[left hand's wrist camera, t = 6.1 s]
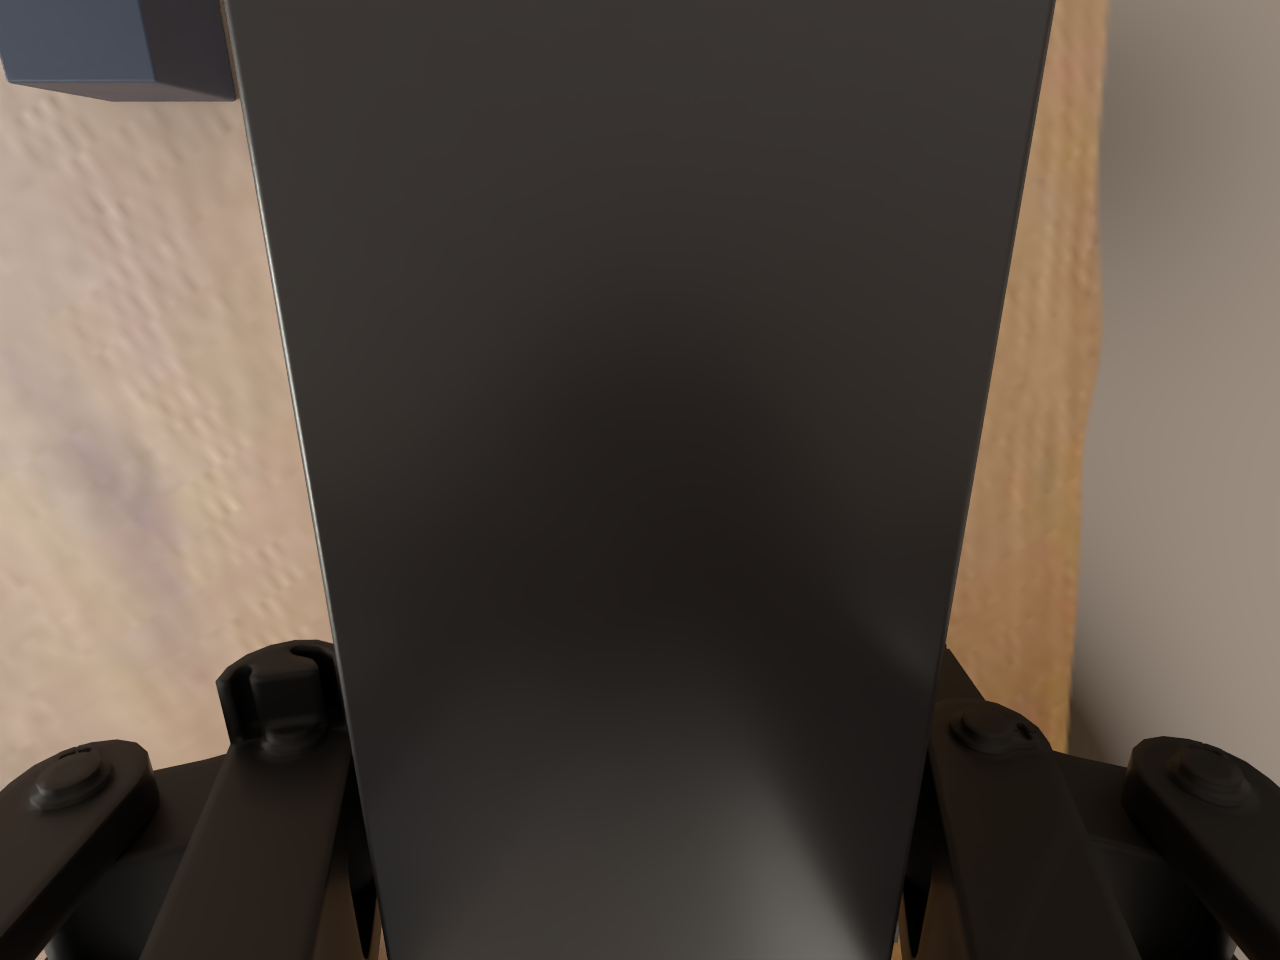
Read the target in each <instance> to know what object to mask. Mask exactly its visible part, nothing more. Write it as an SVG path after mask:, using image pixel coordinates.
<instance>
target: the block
mask: <svg viewBox="0 0 1280 960" xmlns="http://www.w3.org/2000/svg"><path fill="white" fill-rule="evenodd" d="M223 1H224V7H225V13H226V19H227V25H228V30H229V36H230V42H231V48H232V54H233V60H234V65H235V71H236V77H237V83H238V89H239V95H240V100H241V106H242V112H243V118H244V124H245V130H246V135H247V141H248V147H249V153H250V159H251V165H252V170H253V176H254V182H255V188H256V194H257V200H258V205H259V211H260V217H261V223H262V229H263V235H264V240H265V246H266V252H267V258H268V264H269V270H270V275H271V281H272V287H273V293H274V299H275V305H276V310H277V316H278V322H279V328H280V334H281V340H282V346H283V351H284V357H285V363H286V369H287V375H288V381H289V386H290V392H291V398H292V404H293V410H294V416H295V421H296V427H297V433H298V439H299V445H300V451H301V456H302V462H303V468H304V474H305V480H306V486H307V491H308V497H309V503H310V509H311V515H312V521H313V526H314V532H315V538H316V544H317V550H318V556H319V561H320V567H321V573H322V579H323V585H324V591H325V596H326V602H327V608H328V614H329V620H330V626H331V631H332V637H333V643H334V649H335V655H336V661H337V666H338V672H339V678H340V684H341V690H342V696H343V702H344V707H345V713H346V719H347V725H348V731H349V737H350V742H351V748H352V754H353V760H354V766H355V772H356V777H357V783H358V789H359V795H360V801H361V807H362V812H363V818H364V824H365V830H366V836H367V842H368V847H369V853H370V859H371V865H372V871H373V877H374V882H375V888H376V894H377V900H378V906H379V912H380V917H381V923H382V929H383V935H384V941H385V947H386V952H387V958H388V960H891V957H892V951H893V945H894V939H895V933H896V927H897V922H898V916H899V910H900V904H901V898H902V893H903V887H904V881H905V875H906V869H907V863H908V858H909V852H910V846H911V840H912V834H913V829H914V823H915V817H916V811H917V805H918V799H919V794H920V788H921V782H922V776H923V770H924V765H925V759H926V753H927V747H928V741H929V735H930V730H931V724H932V718H933V712H934V706H935V701H936V695H937V689H938V683H939V677H940V671H941V666H942V660H943V654H944V648H945V642H946V637H947V631H948V625H949V619H950V613H951V607H952V602H953V596H954V590H955V584H956V578H957V573H958V567H959V561H960V555H961V549H962V543H963V538H964V532H965V526H966V520H967V514H968V509H969V503H970V497H971V491H972V485H973V479H974V474H975V468H976V462H977V456H978V450H979V445H980V439H981V433H982V427H983V421H984V415H985V410H986V404H987V398H988V392H989V386H990V380H991V375H992V369H993V363H994V357H995V351H996V346H997V340H998V334H999V328H1000V322H1001V316H1002V311H1003V305H1004V299H1005V293H1006V287H1007V282H1008V276H1009V270H1010V264H1011V258H1012V252H1013V247H1014V241H1015V235H1016V229H1017V223H1018V218H1019V212H1020V206H1021V200H1022V194H1023V188H1024V183H1025V177H1026V171H1027V165H1028V159H1029V154H1030V148H1031V142H1032V136H1033V130H1034V124H1035V119H1036V113H1037V107H1038V101H1039V95H1040V90H1041V84H1042V78H1043V72H1044V66H1045V60H1046V55H1047V49H1048V43H1049V37H1050V31H1051V26H1052V20H1053V14H1054V8H1055V2H1056V0H223Z"/></svg>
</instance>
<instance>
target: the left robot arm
mask: <svg viewBox="0 0 1280 960" xmlns="http://www.w3.org/2000/svg"><path fill="white" fill-rule="evenodd" d="M216 686H217V690H218V694H219V698H220V702H221V706H222V710H223V714H224V718H225V722H226V727H227V731H228V735H229V739H230V743H231V744H230V747H229V749H228V751H227V754H224V755H220V756H217V757H213V758H210V759H206V760H201V761H196V762H192V763H187V764H183V765H178V766H173V767H169V768H164V769H159V770H155V771H153V769H152V766H151V762H150V759H149V756H148V752H147V751H146V750H145V749H143V748H142V747H141V746H140V745H139V744H138V743H136V742H130V741H124V740H118V739H116V740H108V741H99V742H91V743H88V744H84V745H79V746H78V747H73V748H70V749H67V750H64V751H62V752H60V753H58V754H56V755H54V756H52V757H50V758H48V759H46V760H44V761H42V762H40V763H38V764H36V765H34V766H33V767H31V768H30V769H28V770H27V771H26V772H24V773H23V774H22V775H20V776H19V777H17V778H16V779H15V780H13V781H12V782H11V783H9V784H8V785H7V786H6V787H5V788H4V789H3V790H2V791H1V792H0V960H35V959H36V958H37V956H38V955H39V954H40V953H41V951H42V950H43V949H44V950H45V953H46V955H47V957H46V959H45V960H378V954H379V945H380V936H381V926H382V923H381V917H380V912H379V906H378V900H377V894H376V888H375V882H374V877H373V871H372V865H371V859H370V853H369V847H368V842H367V836H366V830H365V824H364V818H363V812H362V807H361V801H360V795H359V789H358V783H357V777H356V772H355V766H354V760H353V754H352V748H351V742H350V737H349V731H348V725H347V719H346V713H345V707H344V702H343V696H342V690H341V684H340V678H339V672H338V666H337V661H336V655H335V649H334V644H332V643H328V642H324V641H320V640H293V641H288V642H283V643H279V644H274V645H270V646H267V647H265V648H262V649H260V650H257V651H255V652H252V653H250V654H247V655H245V656H244V657H242V658H241V659H239V660H238V661H236V662H235V663H233V664H232V665H230V666H229V667H227V668H226V670H225V671H224V672H223V673H222V674H221V675H220V677H219V678H218V679H217V680H216ZM899 934H900V943H901V953H902V960H1238V959H1237V958H1236V956H1235V955H1234V951H1235V949H1236V946H1237V945H1238V947H1239V948H1240V949H1241V950H1242V952H1243V953H1244V954H1245V955H1246V956H1247V958H1248V959H1249V960H1280V787H1278V786H1277V785H1276V784H1275V783H1274V782H1273V781H1272V780H1270V779H1269V778H1268V777H1267V776H1265V775H1264V774H1262V773H1261V772H1260V771H1258V770H1257V769H1255V768H1254V767H1253V766H1251V765H1250V764H1249V763H1247V762H1246V761H1244V760H1241V759H1239V758H1237V757H1235V756H1233V755H1231V754H1229V753H1227V752H1225V751H1223V750H1222V749H1220V748H1217V747H1214V746H1211V745H1209V744H1203V743H1202V742H1198V741H1194V740H1190V739H1184V738H1175V737H1166V736H1161V737H1155V738H1149V739H1144V740H1143V741H1141V742H1140V743H1139V744H1138V745H1137V746H1135V747H1134V748H1133V750H1132V753H1131V757H1130V760H1129V764H1128V767H1127V768H1126V767H1121V766H1117V765H1112V764H1107V763H1103V762H1098V761H1093V760H1089V759H1084V758H1079V757H1075V756H1071V755H1067V754H1064V753H1060V752H1056V751H1053V750H1052V748H1051V746H1050V743H1049V742H1048V740H1047V739H1046V738H1045V736H1044V735H1043V733H1042V732H1041V731H1040V729H1039V728H1038V727H1037V726H1036V725H1034V724H1033V723H1032V722H1030V721H1029V720H1028V719H1026V718H1025V717H1024V716H1022V715H1021V714H1019V713H1017V712H1015V711H1013V710H1011V709H1009V708H1006V707H1004V706H1002V705H1000V704H998V703H993V702H989V701H985V699H984V698H983V697H982V695H981V694H980V692H979V691H978V689H977V688H976V687H975V685H974V684H973V682H972V681H971V679H970V678H969V677H968V675H967V674H966V672H965V671H964V669H963V668H962V666H961V665H960V664H959V662H958V661H957V659H956V658H955V656H954V655H953V654H952V652H951V651H950V649H947V648H946V644H945V648H944V654H943V660H942V666H941V671H940V677H939V683H938V689H937V695H936V701H935V706H934V712H933V718H932V724H931V730H930V735H929V741H928V747H927V753H926V759H925V765H924V770H923V776H922V782H921V788H920V794H919V799H918V805H917V811H916V817H915V823H914V829H913V834H912V840H911V846H910V852H909V858H908V863H907V869H906V875H905V881H904V887H903V893H902V898H901V904H900V910H899V916H898V922H897V927H896V933H895V939H894V942H896V943H897V941H898V936H899Z"/></svg>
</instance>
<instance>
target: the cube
mask: <svg viewBox="0 0 1280 960" xmlns="http://www.w3.org/2000/svg"><path fill="white" fill-rule="evenodd" d="M0 57H1V61H2V65H3V68H4V72H5V75H6V79H7V81H8V82H10V83H13V84H18V85H24V86H29V87H35V88H40V89H46V90H51V91H57V92H62V93H68V94H73V95H79V96H84V97H90V98H95V99H101V100H106V101H235V100H236V97H235V91H234V86H233V80H232V75H231V69H230V63H229V58H228V52H227V47H226V41H225V35H224V30H223V24H222V19H221V13H220V7H219V2H218V0H0Z"/></svg>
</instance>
